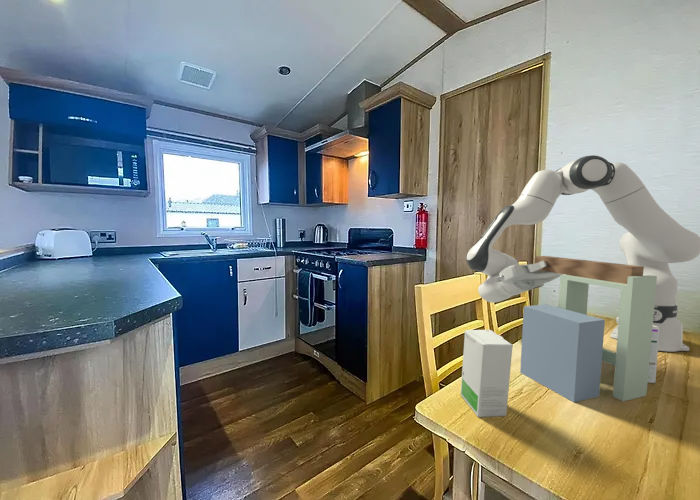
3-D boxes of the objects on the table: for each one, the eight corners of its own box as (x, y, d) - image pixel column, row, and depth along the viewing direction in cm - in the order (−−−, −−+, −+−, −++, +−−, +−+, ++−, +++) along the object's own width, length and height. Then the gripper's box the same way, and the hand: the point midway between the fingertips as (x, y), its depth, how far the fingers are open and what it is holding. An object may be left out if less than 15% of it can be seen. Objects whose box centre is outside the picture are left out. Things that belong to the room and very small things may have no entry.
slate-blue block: (520, 372, 79) (523, 306, 77) (542, 368, 81) (546, 304, 80) (573, 402, 65) (579, 322, 64) (599, 396, 68) (604, 319, 66)
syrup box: (656, 383, 74) (662, 327, 72) (629, 381, 75) (633, 325, 74) (639, 372, 79) (644, 320, 78) (613, 370, 80) (618, 318, 79)
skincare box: (459, 395, 68) (462, 329, 67) (487, 394, 68) (490, 328, 67) (478, 418, 59) (482, 343, 58) (509, 417, 60) (513, 342, 59)
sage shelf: (554, 368, 81) (560, 267, 79) (575, 364, 83) (582, 266, 81) (623, 401, 66) (633, 277, 64) (646, 395, 68) (656, 275, 66)
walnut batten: (534, 269, 89) (535, 256, 88) (544, 268, 90) (545, 255, 90) (630, 284, 66) (632, 267, 66) (642, 283, 67) (643, 266, 67)
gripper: (488, 271, 95) (521, 253, 83) (536, 269, 101) (573, 252, 89) (495, 290, 93) (529, 274, 81) (544, 286, 99) (583, 271, 87)
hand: (553, 262), depth 85 cm, fingers closed on walnut batten, 4 cm apart
